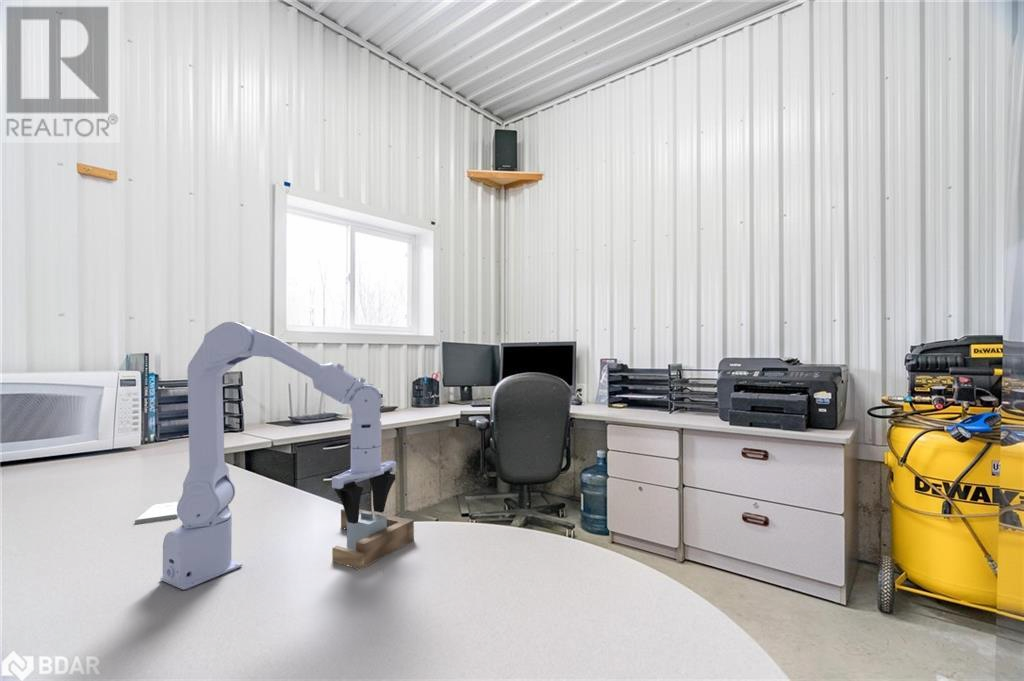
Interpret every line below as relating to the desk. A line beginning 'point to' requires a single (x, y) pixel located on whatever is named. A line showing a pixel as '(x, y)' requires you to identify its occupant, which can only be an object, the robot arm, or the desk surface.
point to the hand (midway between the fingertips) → (366, 516)
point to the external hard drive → (159, 513)
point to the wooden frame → (375, 542)
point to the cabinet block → (364, 528)
